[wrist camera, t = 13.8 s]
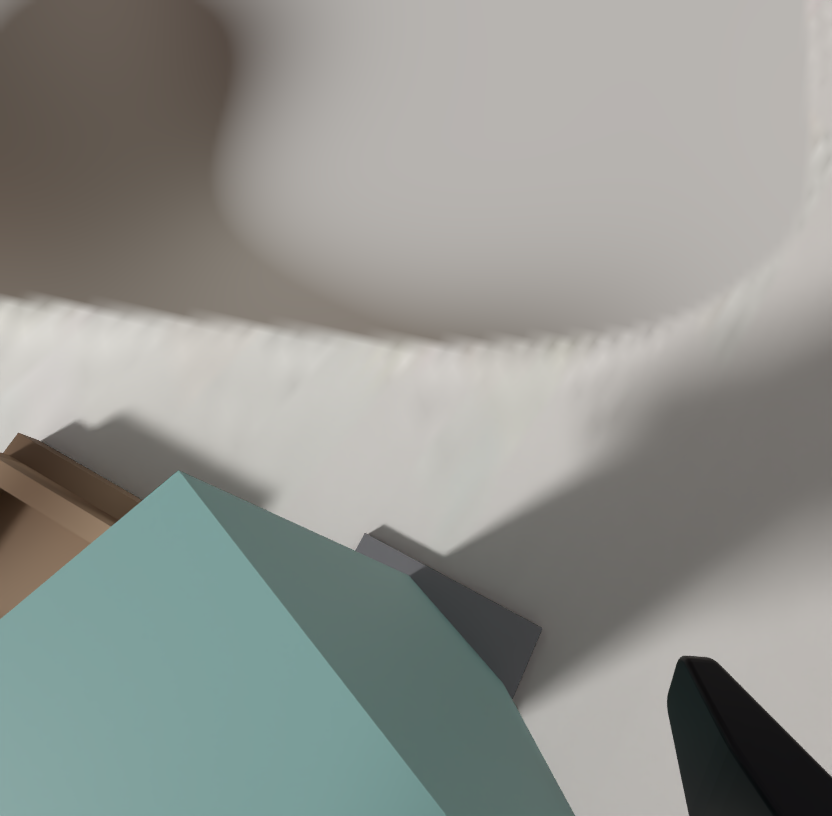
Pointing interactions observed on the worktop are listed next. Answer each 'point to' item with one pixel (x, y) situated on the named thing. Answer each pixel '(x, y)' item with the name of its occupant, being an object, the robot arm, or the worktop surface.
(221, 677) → the block
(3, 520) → the board
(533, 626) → the mat
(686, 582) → the worktop surface
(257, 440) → the worktop surface
